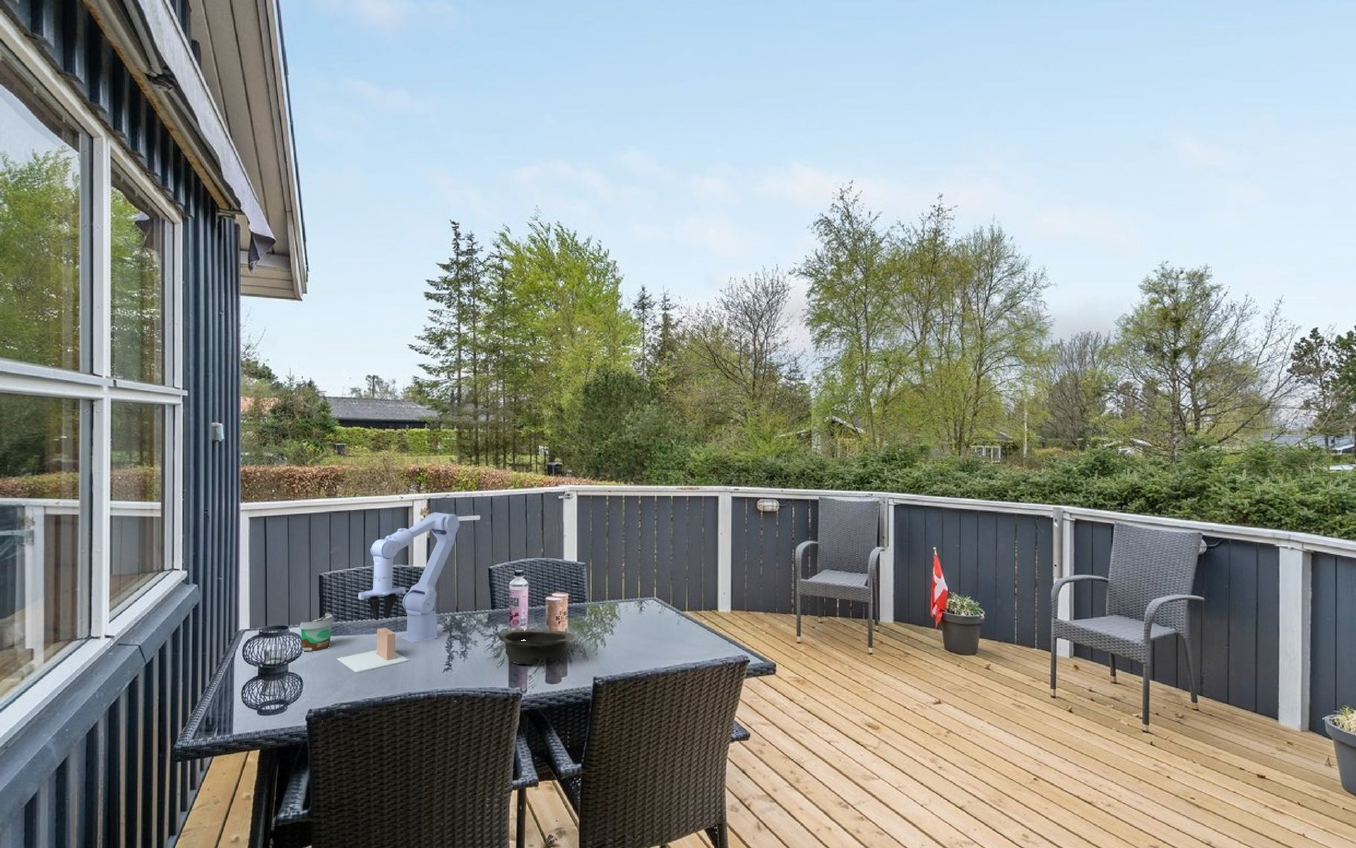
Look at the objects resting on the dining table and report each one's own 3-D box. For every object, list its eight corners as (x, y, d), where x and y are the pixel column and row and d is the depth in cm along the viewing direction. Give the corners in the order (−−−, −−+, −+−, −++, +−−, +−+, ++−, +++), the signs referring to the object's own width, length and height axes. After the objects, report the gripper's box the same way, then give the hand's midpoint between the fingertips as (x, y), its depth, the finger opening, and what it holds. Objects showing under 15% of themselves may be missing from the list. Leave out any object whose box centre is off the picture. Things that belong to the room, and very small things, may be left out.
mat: (386, 648, 227) (386, 646, 227) (410, 662, 214) (410, 660, 214) (335, 659, 216) (335, 657, 216) (356, 674, 203) (357, 672, 203)
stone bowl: (504, 674, 205) (503, 642, 206) (491, 654, 228) (491, 626, 229) (584, 663, 215) (584, 633, 216) (564, 645, 238) (564, 618, 239)
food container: (315, 656, 218) (316, 624, 218) (298, 654, 219) (299, 622, 219) (342, 644, 230) (342, 614, 230) (325, 642, 231) (326, 612, 231)
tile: (384, 652, 221) (385, 627, 222) (395, 658, 216) (395, 633, 216) (376, 654, 220) (377, 629, 220) (386, 660, 214) (387, 634, 214)
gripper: (365, 581, 217) (363, 625, 217) (410, 576, 227) (408, 617, 227) (356, 577, 222) (354, 620, 221) (401, 572, 232) (399, 613, 232)
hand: (381, 618), depth 224 cm, fingers open, 3 cm apart
